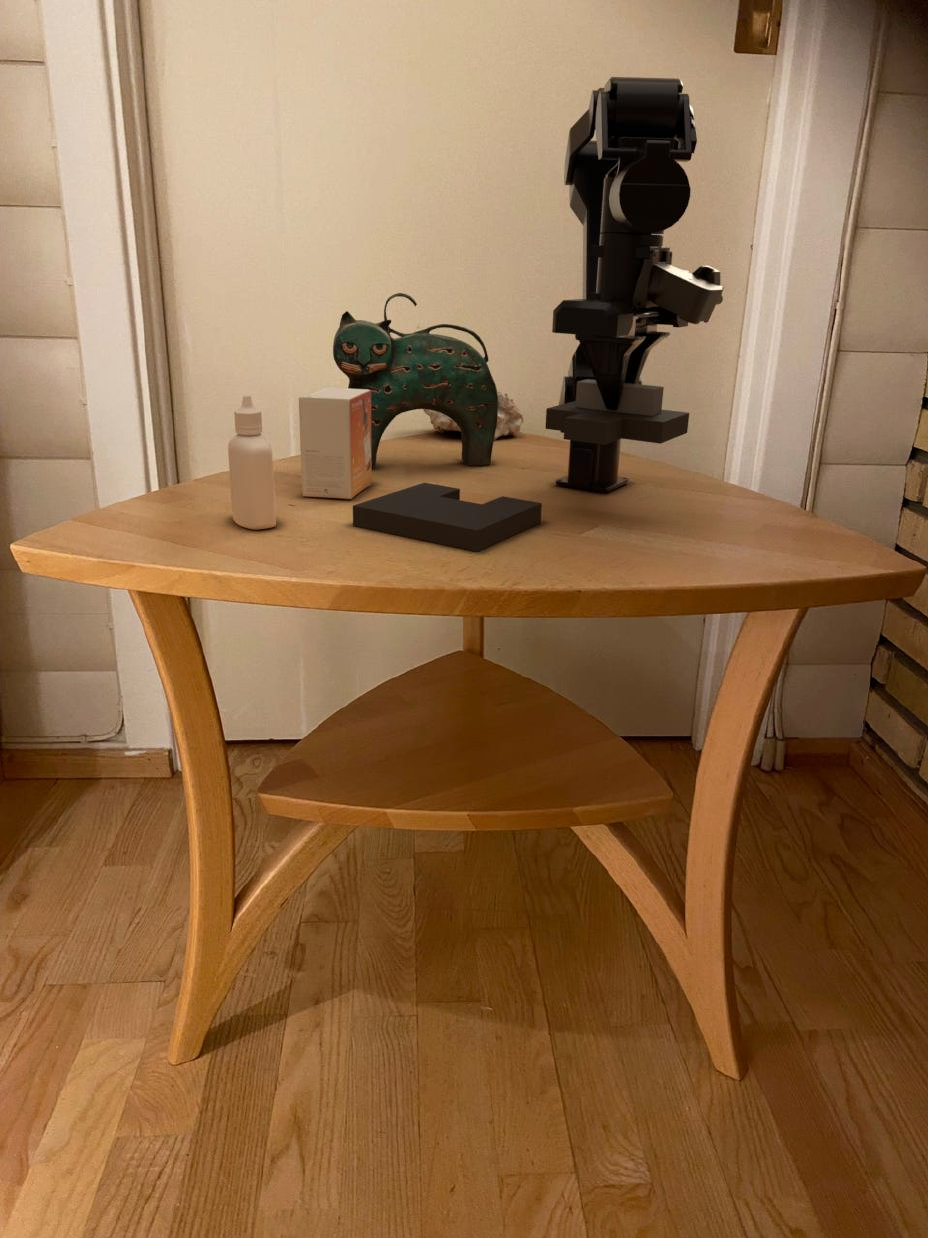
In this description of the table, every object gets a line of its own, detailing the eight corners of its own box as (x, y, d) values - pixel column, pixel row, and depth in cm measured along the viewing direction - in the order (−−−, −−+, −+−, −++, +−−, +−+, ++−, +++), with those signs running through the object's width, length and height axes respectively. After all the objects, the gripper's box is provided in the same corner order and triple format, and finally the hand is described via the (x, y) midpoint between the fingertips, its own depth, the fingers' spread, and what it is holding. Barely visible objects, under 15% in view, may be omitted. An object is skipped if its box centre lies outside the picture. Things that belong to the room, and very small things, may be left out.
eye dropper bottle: (279, 515, 95) (273, 391, 90) (275, 531, 90) (268, 400, 85) (234, 515, 94) (225, 391, 90) (227, 531, 89) (218, 400, 85)
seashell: (420, 421, 130) (432, 353, 132) (413, 445, 139) (424, 381, 141) (523, 442, 132) (534, 375, 133) (510, 465, 141) (520, 401, 143)
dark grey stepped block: (576, 419, 99) (579, 375, 98) (687, 433, 93) (692, 386, 92) (526, 434, 91) (528, 385, 89) (645, 450, 85) (650, 398, 83)
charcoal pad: (424, 500, 101) (424, 482, 101) (541, 522, 94) (542, 502, 94) (352, 525, 92) (352, 505, 91) (476, 551, 85) (477, 530, 84)
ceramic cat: (337, 472, 113) (332, 293, 105) (331, 461, 118) (326, 289, 111) (500, 467, 117) (506, 295, 110) (486, 456, 123) (492, 292, 116)
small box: (351, 501, 101) (349, 399, 97) (300, 497, 102) (297, 396, 98) (373, 483, 108) (372, 388, 104) (326, 480, 109) (323, 385, 105)
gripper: (680, 233, 76) (660, 431, 81) (749, 237, 91) (729, 405, 96) (554, 231, 81) (544, 416, 87) (639, 235, 96) (626, 394, 102)
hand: (617, 407), depth 93 cm, fingers closed on dark grey stepped block, 2 cm apart
